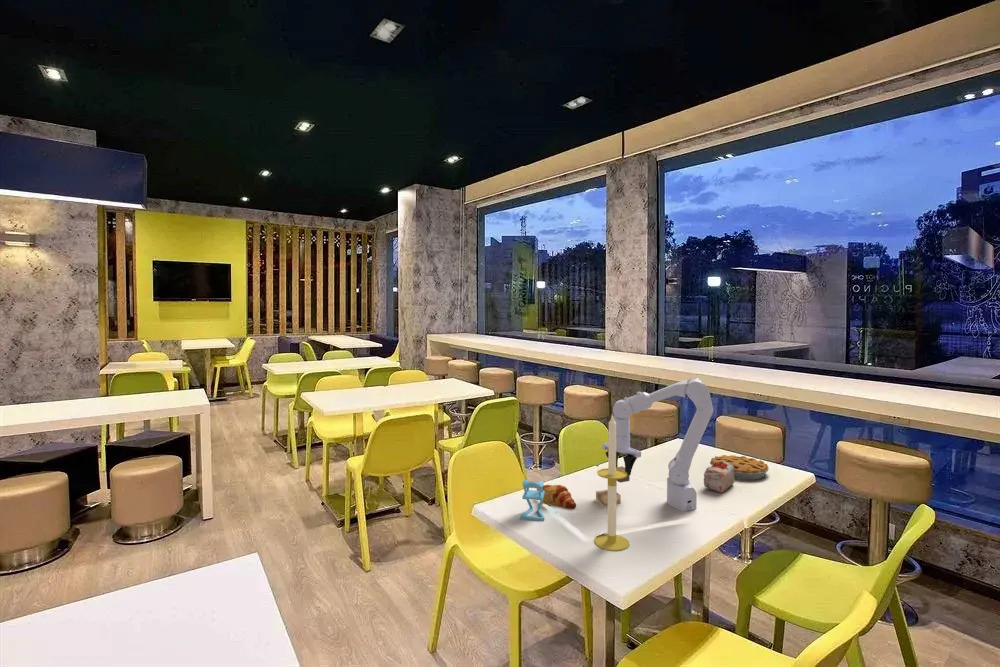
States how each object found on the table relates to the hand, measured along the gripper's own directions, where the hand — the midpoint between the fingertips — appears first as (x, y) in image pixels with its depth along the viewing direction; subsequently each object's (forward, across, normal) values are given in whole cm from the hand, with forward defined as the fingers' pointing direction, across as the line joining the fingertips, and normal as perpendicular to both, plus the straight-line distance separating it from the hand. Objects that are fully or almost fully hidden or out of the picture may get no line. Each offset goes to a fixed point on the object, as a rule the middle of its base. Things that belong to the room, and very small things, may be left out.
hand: (621, 473), depth 175 cm
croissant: (+10, +15, +17) cm, 25 cm away
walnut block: (+2, 0, 0) cm, 2 cm away
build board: (+10, 0, +4) cm, 11 cm away
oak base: (+9, +1, +6) cm, 11 cm away
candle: (+10, -16, +28) cm, 34 cm away
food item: (+10, -17, -38) cm, 43 cm away
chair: (+10, +13, +31) cm, 35 cm away
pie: (+10, -14, -62) cm, 64 cm away
